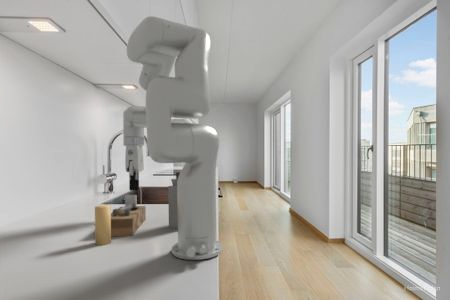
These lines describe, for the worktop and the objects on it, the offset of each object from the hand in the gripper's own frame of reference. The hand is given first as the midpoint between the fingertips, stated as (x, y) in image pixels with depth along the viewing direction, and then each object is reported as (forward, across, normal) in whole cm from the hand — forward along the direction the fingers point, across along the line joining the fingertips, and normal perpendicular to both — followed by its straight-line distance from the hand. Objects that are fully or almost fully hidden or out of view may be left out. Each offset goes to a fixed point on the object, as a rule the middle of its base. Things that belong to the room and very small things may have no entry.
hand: (134, 190), depth 107 cm
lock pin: (+5, -12, 0) cm, 13 cm away
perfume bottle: (+10, -15, -19) cm, 26 cm away
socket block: (+10, -14, 0) cm, 17 cm away
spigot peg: (+10, -30, +2) cm, 31 cm away
